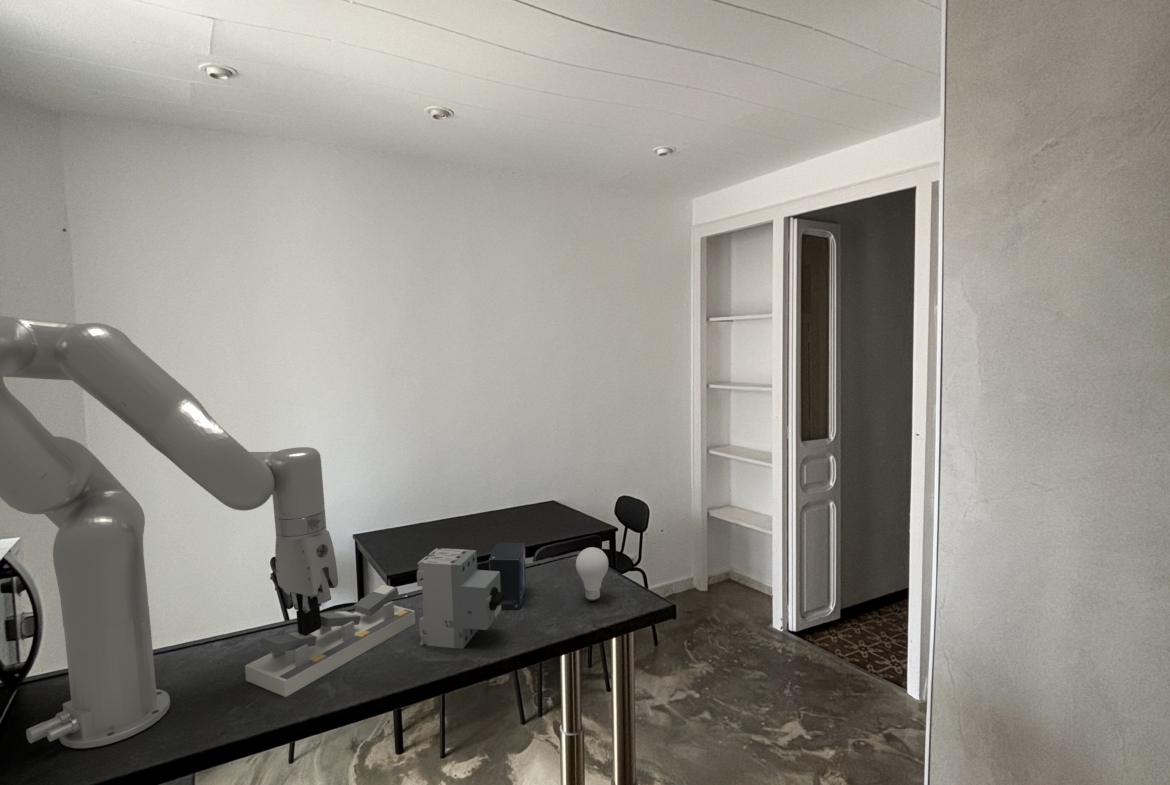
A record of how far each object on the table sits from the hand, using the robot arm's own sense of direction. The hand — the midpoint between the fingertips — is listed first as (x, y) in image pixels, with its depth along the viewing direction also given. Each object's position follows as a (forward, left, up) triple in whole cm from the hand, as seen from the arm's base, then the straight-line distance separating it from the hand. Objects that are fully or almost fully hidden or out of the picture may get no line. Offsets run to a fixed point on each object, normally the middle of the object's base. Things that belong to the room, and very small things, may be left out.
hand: (309, 630), depth 101 cm
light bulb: (+43, -30, -6) cm, 53 cm away
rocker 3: (+14, 0, 0) cm, 14 cm away
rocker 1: (-4, 0, 0) cm, 4 cm away
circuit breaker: (+19, -17, -6) cm, 26 cm away
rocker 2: (+5, 0, 0) cm, 5 cm away
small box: (+36, -14, -6) cm, 39 cm away
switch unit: (+5, 0, -6) cm, 8 cm away
